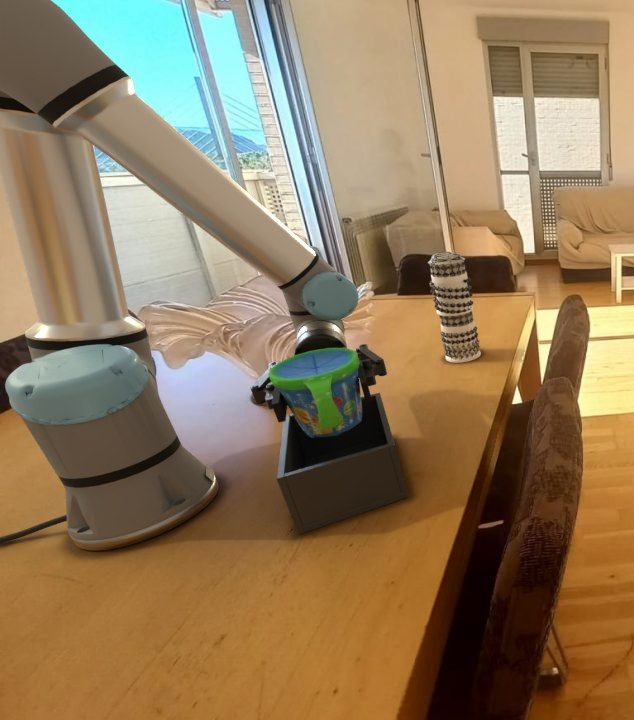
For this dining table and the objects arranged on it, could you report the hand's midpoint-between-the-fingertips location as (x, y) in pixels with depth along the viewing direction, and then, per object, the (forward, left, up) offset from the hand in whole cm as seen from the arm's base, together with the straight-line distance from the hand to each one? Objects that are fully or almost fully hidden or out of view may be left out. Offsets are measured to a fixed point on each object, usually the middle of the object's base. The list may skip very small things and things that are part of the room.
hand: (324, 401), depth 63 cm
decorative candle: (+27, +44, -16) cm, 54 cm away
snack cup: (0, +4, -6) cm, 8 cm away
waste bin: (0, +4, -15) cm, 16 cm away
